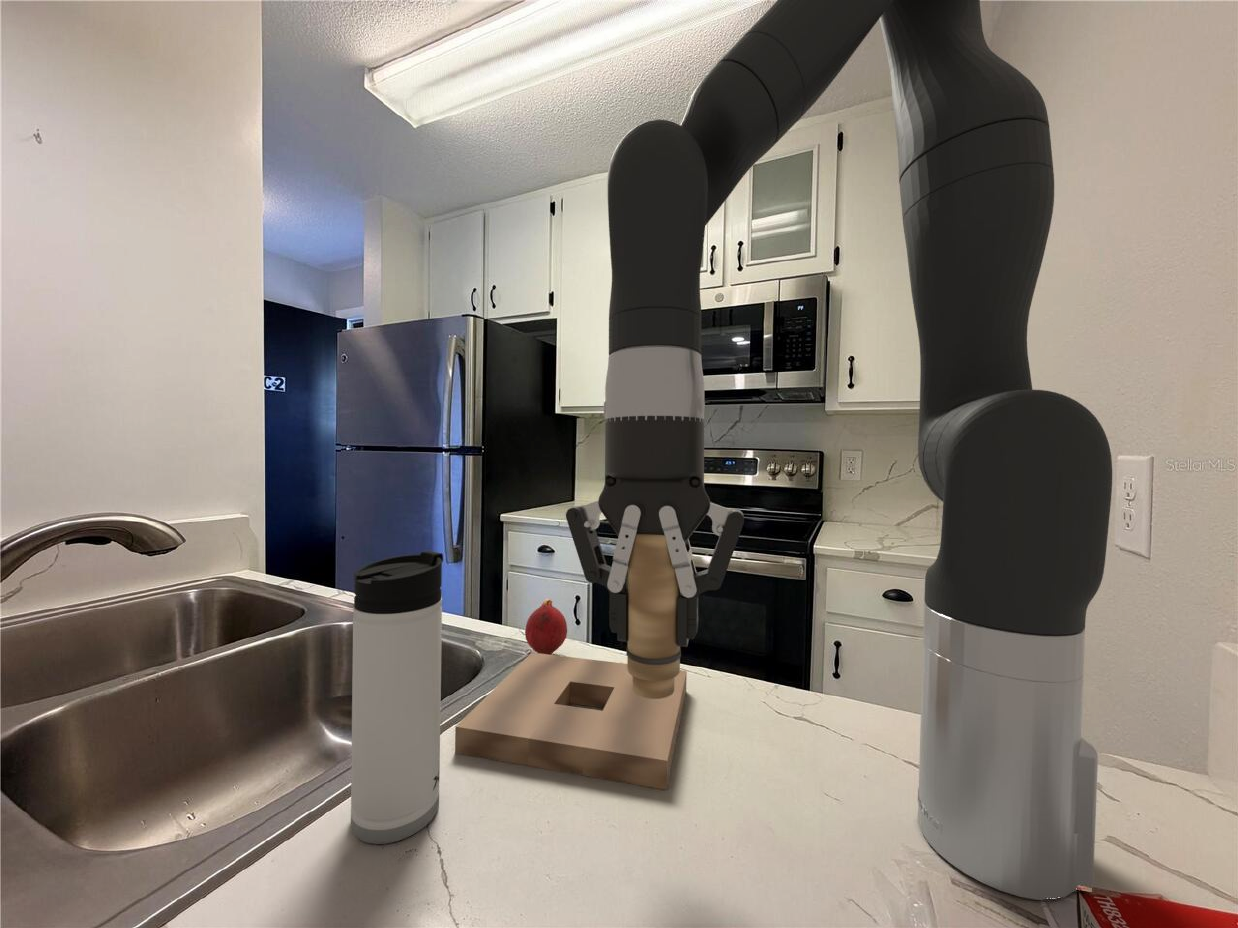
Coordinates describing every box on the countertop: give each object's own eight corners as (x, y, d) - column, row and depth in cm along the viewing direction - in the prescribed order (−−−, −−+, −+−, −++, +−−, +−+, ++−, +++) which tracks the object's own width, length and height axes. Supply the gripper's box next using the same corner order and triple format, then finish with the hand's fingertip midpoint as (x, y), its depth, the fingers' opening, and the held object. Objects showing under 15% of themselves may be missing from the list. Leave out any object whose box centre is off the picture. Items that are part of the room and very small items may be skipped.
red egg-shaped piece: (558, 667, 65) (559, 607, 65) (518, 662, 66) (519, 604, 66) (571, 650, 71) (572, 595, 71) (534, 646, 72) (534, 592, 72)
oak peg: (683, 679, 39) (683, 529, 39) (677, 704, 35) (678, 537, 35) (632, 674, 40) (632, 527, 40) (621, 698, 36) (621, 535, 36)
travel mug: (459, 804, 39) (463, 556, 39) (381, 860, 34) (385, 572, 33) (411, 775, 43) (414, 547, 42) (333, 822, 37) (336, 559, 37)
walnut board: (686, 691, 59) (686, 670, 59) (666, 789, 42) (667, 760, 41) (531, 671, 64) (531, 652, 64) (455, 752, 46) (455, 726, 46)
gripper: (749, 418, 39) (747, 631, 40) (579, 420, 42) (579, 617, 43) (753, 409, 32) (751, 670, 32) (548, 413, 35) (547, 650, 35)
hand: (653, 639), depth 37 cm, fingers closed on oak peg, 4 cm apart
